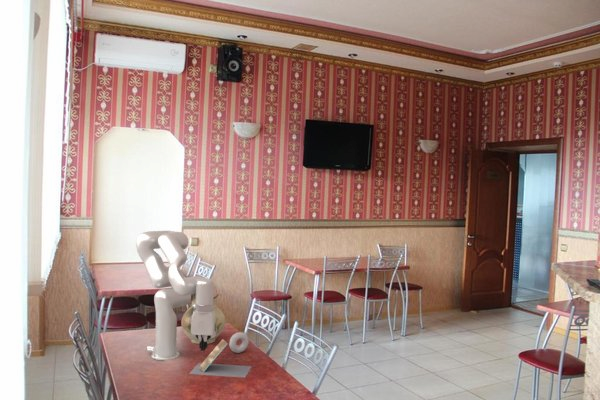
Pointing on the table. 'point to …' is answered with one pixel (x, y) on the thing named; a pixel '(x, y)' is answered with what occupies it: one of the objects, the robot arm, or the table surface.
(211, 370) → the mat
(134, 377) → the table surface
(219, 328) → the pitcher
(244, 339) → the donut
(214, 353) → the tan rectangular package
